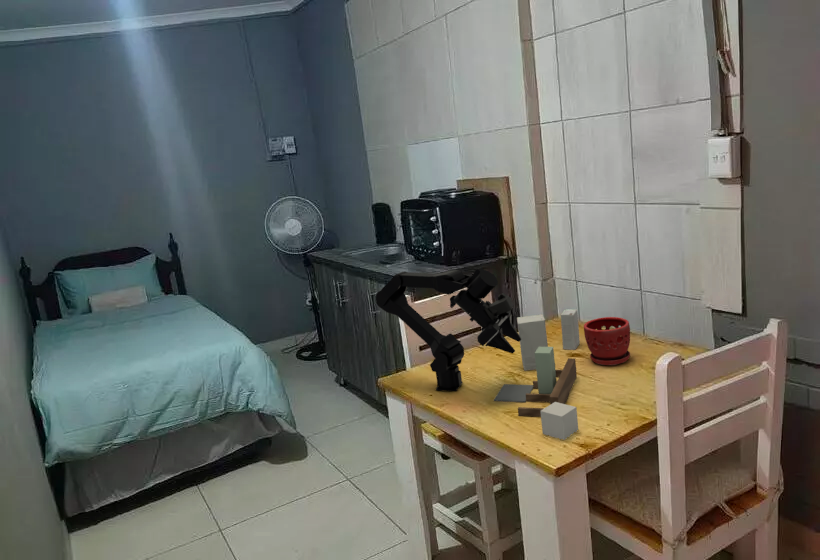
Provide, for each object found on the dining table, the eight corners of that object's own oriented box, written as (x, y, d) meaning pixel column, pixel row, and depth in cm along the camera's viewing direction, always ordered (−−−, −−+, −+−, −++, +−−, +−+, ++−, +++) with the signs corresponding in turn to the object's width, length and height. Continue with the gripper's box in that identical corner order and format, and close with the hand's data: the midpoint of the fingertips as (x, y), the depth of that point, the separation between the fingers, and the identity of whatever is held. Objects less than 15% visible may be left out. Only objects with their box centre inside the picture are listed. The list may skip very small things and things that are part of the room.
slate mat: (493, 401, 170) (493, 399, 170) (504, 385, 179) (504, 384, 179) (525, 402, 166) (525, 401, 166) (534, 386, 176) (534, 385, 176)
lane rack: (518, 415, 159) (516, 395, 158) (540, 375, 183) (538, 358, 182) (559, 417, 154) (557, 397, 153) (576, 376, 178) (575, 358, 177)
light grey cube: (557, 424, 151) (555, 401, 150) (578, 430, 147) (576, 407, 146) (542, 434, 148) (540, 410, 146) (563, 440, 143) (561, 416, 142)
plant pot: (603, 350, 196) (600, 314, 194) (640, 357, 186) (638, 319, 183) (577, 363, 189) (574, 325, 186) (615, 371, 178) (612, 332, 176)
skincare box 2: (567, 343, 207) (564, 308, 205) (580, 343, 205) (577, 308, 202) (562, 349, 202) (559, 314, 199) (576, 350, 200) (573, 314, 197)
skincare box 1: (548, 361, 193) (543, 313, 190) (551, 368, 187) (546, 319, 184) (521, 363, 194) (516, 316, 191) (523, 371, 188) (517, 322, 185)
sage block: (539, 398, 167) (534, 353, 165) (542, 391, 172) (538, 346, 169) (554, 399, 166) (549, 353, 163) (557, 391, 170) (553, 346, 167)
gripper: (486, 297, 160) (531, 338, 158) (501, 279, 177) (542, 316, 175) (459, 325, 164) (502, 366, 163) (476, 305, 181) (516, 341, 180)
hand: (517, 346), depth 170 cm, fingers open, 9 cm apart
